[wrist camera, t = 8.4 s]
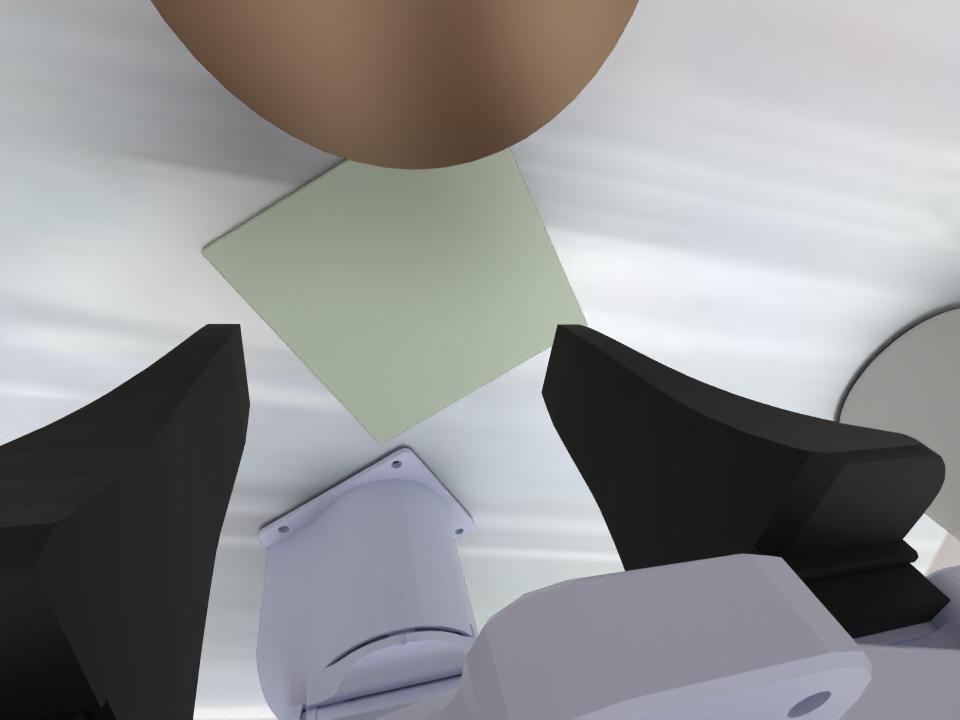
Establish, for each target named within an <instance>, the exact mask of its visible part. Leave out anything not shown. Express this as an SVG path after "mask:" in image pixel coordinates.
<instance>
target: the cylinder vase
mask: <svg viewBox="0 0 960 720" xmlns="http://www.w3.org/2000/svg"><path fill="white" fill-rule="evenodd" d="M839 423H844V424H849V425H855V426H861V427H867V428H873V429H878V430H884V431H890V432H896V433H902V434H905V435H908V436H910V437H912V438H915V439H917V440H918V441H920V442H921V443H923V444H924V445H926V446H927V447H928V448H930V449H931V450H933V451H934V452H936V453H937V454H939V455H940V456H941V457H942V459H943V461H944V463H945V468H946V471H945V481H944V483H943V485H942V488H941V490H940V492H939V493H938V495H937V496H936V498H935V499H934V501H933V502H932V504H931V505H930V506H929V507H928V509H927V510H926V511H925V512H924V513H925V514H926V515H928V516H929V517H930V518H931V519H933V520H934V521H935V522H936V523H938V524H939V525H940V526H941V527H943V528H944V529H945V530H946V531H948V532H949V533H950V534H951V535H953V536H954V537H955V538H957V539H958V540H959V541H960V308H958V309H954V310H950V311H947V312H944V313H942V314H939V315H936V316H934V317H932V318H930V319H928V320H926V321H924V322H922V323H920V324H918V325H917V326H915V327H913V328H912V329H910V330H909V331H907V332H906V333H904V334H903V335H902V336H900V337H899V338H898V339H896V340H895V341H894V342H892V343H891V344H890V345H889V346H888V347H887V348H885V349H884V350H883V351H882V352H881V353H880V354H879V355H878V356H877V357H876V358H875V359H874V360H873V361H872V362H871V363H870V365H869V366H868V367H867V368H866V369H865V370H864V372H863V373H862V374H861V376H860V377H859V378H858V380H857V381H856V383H855V384H854V386H853V387H852V389H851V391H850V393H849V394H848V396H847V398H846V401H845V403H844V406H843V408H842V412H841V416H840V421H839Z"/></svg>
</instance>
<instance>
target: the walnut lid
mask: <svg viewBox="0 0 960 720" xmlns="http://www.w3.org/2000/svg"><path fill="white" fill-rule="evenodd" d="M151 1H152V3H153V4H154V6H155V7H156V9H157V10H158V12H159V13H160V15H161V16H162V18H163V19H164V21H165V22H166V23H167V24H168V25H169V27H170V28H171V29H172V30H173V31H174V33H175V34H176V35H177V36H178V38H179V39H180V40H181V41H182V42H183V44H184V45H185V46H186V47H187V48H188V50H189V51H190V52H191V53H192V55H193V56H194V57H195V58H196V59H197V60H198V61H199V62H200V63H201V64H202V65H203V66H204V67H205V68H206V69H207V70H208V71H209V72H210V73H211V74H212V75H213V76H214V77H215V78H216V79H217V80H218V81H219V82H220V83H221V84H222V85H223V86H224V87H225V88H226V89H227V90H228V91H230V92H231V93H232V94H233V95H235V96H236V97H237V98H238V99H240V100H241V101H242V102H243V103H245V104H246V105H247V106H248V107H250V108H251V109H252V110H253V111H255V112H256V113H257V114H258V115H260V116H261V117H263V118H264V119H266V120H267V121H269V122H271V123H272V124H274V125H275V126H277V127H278V128H280V129H282V130H283V131H285V132H286V133H288V134H290V135H291V136H293V137H295V138H297V139H299V140H301V141H303V142H306V143H308V144H310V145H312V146H314V147H316V148H318V149H320V150H322V151H325V152H328V153H330V154H333V155H336V156H339V157H342V158H345V159H348V160H351V161H354V162H359V163H364V164H369V165H374V166H379V167H384V168H395V169H411V170H420V169H434V168H446V167H450V166H455V165H460V164H464V163H469V162H473V161H476V160H479V159H482V158H484V157H487V156H490V155H492V154H495V153H498V152H501V151H502V150H504V149H506V148H508V147H510V146H512V145H514V144H516V143H518V142H520V141H521V140H523V139H525V138H527V137H528V136H530V135H531V134H532V133H534V132H535V131H537V130H538V129H540V128H541V127H542V126H544V125H545V124H547V123H548V122H550V121H551V120H552V119H553V118H554V117H555V116H556V115H557V114H559V113H560V112H561V111H562V110H563V109H564V108H565V107H566V106H567V105H568V104H570V103H571V102H572V101H573V100H574V99H575V98H576V96H577V95H578V94H579V93H580V92H581V91H582V90H583V88H584V87H585V86H586V85H587V84H588V83H589V82H590V80H591V79H592V78H593V77H594V76H595V75H596V73H597V72H598V70H599V69H600V67H601V66H602V64H603V63H604V62H605V60H606V59H607V57H608V56H609V54H610V53H611V52H612V50H613V49H614V47H615V46H616V44H617V42H618V40H619V38H620V36H621V35H622V33H623V31H624V29H625V27H626V26H627V24H628V22H629V20H630V18H631V16H632V15H633V12H634V10H635V8H636V5H637V3H638V1H639V0H151Z"/></svg>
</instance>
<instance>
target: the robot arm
mask: <svg viewBox="0 0 960 720" xmlns="http://www.w3.org/2000/svg"><path fill="white" fill-rule="evenodd" d="M542 395H543V398H544V401H545V404H546V407H547V410H548V412H549V415H550V417H551V420H552V422H553V425H554V427H555V429H556V431H557V432H558V434H559V436H560V438H561V440H562V441H563V443H564V445H565V447H566V449H567V450H568V452H569V454H570V456H571V458H572V459H573V461H574V463H575V465H576V466H577V468H578V470H579V472H580V473H581V475H582V477H583V479H584V480H585V482H586V484H587V486H588V487H589V489H590V491H591V493H592V494H593V496H594V498H595V500H596V502H597V504H598V506H599V508H600V510H601V513H602V515H603V517H604V520H605V522H606V524H607V527H608V529H609V531H610V534H611V536H612V538H613V541H614V543H615V546H616V548H617V551H618V553H619V556H620V559H621V561H622V564H623V566H624V569H625V571H624V572H618V573H611V574H605V575H598V576H591V577H585V578H578V579H572V580H567V581H563V582H560V583H557V584H554V585H551V586H548V587H545V588H541V589H538V590H535V591H532V592H529V593H526V594H524V595H522V596H521V597H519V598H518V599H517V600H515V601H514V602H512V603H511V604H509V605H508V606H506V607H505V608H504V609H502V610H501V611H499V612H498V613H496V614H495V615H493V616H492V617H491V618H489V620H488V621H487V623H486V624H485V626H484V628H483V629H482V631H481V632H480V634H479V635H478V631H477V627H476V623H475V619H474V615H473V611H472V607H471V603H470V599H469V596H468V592H467V588H466V584H465V580H464V576H463V572H462V568H461V564H460V560H459V556H458V552H457V548H456V544H455V539H457V538H459V537H460V536H462V535H464V534H466V533H468V532H469V531H471V530H472V529H473V528H474V522H473V519H472V518H471V517H470V516H469V515H468V513H467V512H466V511H465V510H464V509H463V508H462V507H461V505H460V504H459V503H458V502H457V501H456V500H455V499H454V498H453V496H452V495H451V494H450V493H449V492H448V491H447V490H446V488H445V487H444V486H443V485H442V484H441V483H440V482H439V481H438V479H437V478H436V477H435V476H434V475H433V474H432V473H431V472H430V470H429V469H428V468H427V467H426V466H425V465H424V464H423V462H422V461H421V460H420V459H419V458H418V457H417V456H416V455H415V453H414V452H413V451H412V450H410V449H408V448H402V449H400V450H398V451H396V452H394V453H393V454H391V455H389V456H387V457H386V458H384V459H382V460H380V461H379V462H377V463H375V464H374V465H372V466H370V467H368V468H367V469H365V470H363V471H361V472H360V473H358V474H356V475H354V476H353V477H351V478H349V479H348V480H346V481H344V482H342V483H341V484H339V485H337V486H335V487H334V488H332V489H330V490H328V491H327V492H325V493H323V494H322V495H320V496H318V497H316V498H315V499H313V500H311V501H309V502H308V503H306V504H304V505H302V506H301V507H299V508H297V509H296V510H294V511H292V512H290V513H289V514H287V515H285V516H283V517H282V518H280V519H278V520H276V521H275V522H273V523H271V524H270V525H268V526H266V527H264V528H263V529H261V530H260V531H259V533H258V541H259V542H260V543H262V544H263V545H265V546H266V547H267V548H268V554H267V562H266V571H265V579H264V588H263V596H262V605H261V613H260V622H259V630H258V639H257V652H256V657H257V669H258V675H259V680H260V684H261V687H262V691H263V694H264V697H265V699H266V701H267V703H268V705H269V707H270V709H271V710H272V712H273V713H274V714H275V716H276V717H277V718H278V719H279V720H960V566H954V567H949V568H943V569H941V570H938V571H935V572H934V573H932V574H930V575H929V576H927V577H925V576H924V575H922V574H921V573H920V572H919V571H918V570H917V569H916V568H915V567H914V566H912V565H911V564H910V563H912V562H915V561H916V560H917V558H918V554H917V552H916V551H915V550H914V549H913V548H912V547H911V546H910V545H908V544H907V543H906V542H905V541H904V540H903V538H904V537H905V536H906V534H907V533H908V532H909V531H910V530H911V528H912V527H913V526H914V525H915V523H916V522H917V521H918V520H919V518H920V517H921V516H922V515H923V514H924V512H925V511H926V510H927V509H928V507H929V506H930V505H931V504H932V502H933V501H934V499H935V498H936V496H937V495H938V493H939V492H940V490H941V488H942V485H943V483H944V481H945V471H946V468H945V463H944V461H943V459H942V457H941V456H940V455H939V454H937V453H936V452H934V451H933V450H931V449H930V448H928V447H927V446H926V445H924V444H923V443H921V442H920V441H918V440H917V439H915V438H912V437H910V436H908V435H905V434H902V433H896V432H890V431H884V430H878V429H873V428H867V427H861V426H855V425H849V424H844V423H839V422H834V421H830V420H825V419H821V418H816V417H812V416H808V415H803V414H799V413H795V412H792V411H788V410H784V409H780V408H777V407H773V406H770V405H767V404H763V403H760V402H757V401H754V400H750V399H747V398H744V397H741V396H738V395H735V394H732V393H730V392H727V391H724V390H722V389H719V388H716V387H714V386H711V385H708V384H706V383H703V382H701V381H699V380H696V379H694V378H691V377H689V376H687V375H685V374H683V373H680V372H678V371H676V370H674V369H672V368H669V367H667V366H665V365H663V364H661V363H659V362H657V361H655V360H653V359H651V358H649V357H647V356H645V355H643V354H641V353H639V352H637V351H635V350H633V349H631V348H629V347H628V346H626V345H624V344H622V343H620V342H618V341H616V340H614V339H612V338H610V337H608V336H606V335H604V334H602V333H600V332H598V331H595V330H593V329H591V328H588V327H586V326H583V325H580V324H557V328H556V332H555V337H554V341H553V345H552V350H551V354H550V358H549V363H548V367H547V371H546V376H545V380H544V384H543V389H542ZM249 408H250V401H249V393H248V385H247V376H246V368H245V360H244V352H243V344H242V336H241V328H240V324H207V325H206V326H204V327H202V328H201V329H200V330H198V331H197V332H195V333H194V334H193V335H191V336H190V337H189V338H187V339H186V340H185V341H183V342H182V343H181V344H179V345H178V346H177V347H175V348H174V349H173V350H171V351H170V352H169V353H167V354H166V355H164V356H163V357H162V358H160V359H159V360H158V361H156V362H155V363H153V364H152V365H151V366H149V367H148V368H146V369H145V370H143V371H142V372H140V373H139V374H137V375H135V376H134V377H132V378H131V379H129V380H128V381H126V382H125V383H123V384H122V385H120V386H118V387H117V388H115V389H114V390H112V391H111V392H109V393H107V394H106V395H104V396H102V397H101V398H99V399H97V400H95V401H94V402H92V403H90V404H88V405H86V406H85V407H83V408H81V409H79V410H77V411H75V412H73V413H71V414H69V415H67V416H65V417H63V418H61V419H59V420H57V421H55V422H53V423H51V424H49V425H47V426H45V427H43V428H40V429H38V430H36V431H33V432H31V433H29V434H27V435H24V436H22V437H20V438H17V439H15V440H13V441H11V442H8V443H6V444H4V445H1V446H0V720H193V714H194V706H195V698H196V690H197V682H198V674H199V666H200V658H201V650H202V643H203V636H204V629H205V622H206V615H207V608H208V601H209V594H210V588H211V581H212V575H213V569H214V562H215V556H216V550H217V546H218V542H219V537H220V533H221V529H222V525H223V522H224V518H225V515H226V511H227V507H228V504H229V500H230V497H231V493H232V490H233V486H234V482H235V479H236V475H237V472H238V468H239V464H240V461H241V457H242V453H243V449H244V446H245V441H246V433H247V426H248V417H249ZM395 461H400V462H398V463H393V462H395ZM282 526H287V527H282ZM459 528H460V529H459Z"/></svg>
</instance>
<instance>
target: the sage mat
mask: <svg viewBox="0 0 960 720" xmlns="http://www.w3.org/2000/svg"><path fill="white" fill-rule="evenodd" d="M201 254H202V255H203V256H204V257H205V258H206V259H207V260H208V261H209V262H210V263H211V264H212V265H213V267H214V268H215V269H216V270H217V271H218V272H219V273H220V274H221V275H222V276H223V277H224V278H225V279H226V280H227V281H228V283H229V284H230V285H231V286H232V287H233V288H234V289H235V290H236V291H237V292H238V293H239V294H240V295H241V296H242V298H243V299H244V300H245V301H246V302H247V303H248V304H249V305H250V306H251V307H252V308H253V309H254V310H255V311H256V313H257V314H258V315H259V316H260V317H261V318H262V319H263V320H264V321H265V322H266V323H267V324H268V325H269V326H270V328H271V329H272V330H273V331H274V332H275V333H276V334H277V335H278V336H279V337H280V338H281V339H282V340H283V341H284V342H285V344H286V345H287V346H288V347H289V348H290V349H291V350H292V351H293V352H294V353H295V354H296V355H297V356H298V357H299V359H300V360H301V361H302V362H303V363H304V364H305V365H306V366H307V367H308V368H309V369H310V370H311V371H312V372H313V374H314V375H315V376H316V377H317V378H318V379H319V380H320V381H321V382H322V383H323V384H324V385H325V386H326V387H327V389H328V390H329V391H330V392H331V393H332V394H333V395H334V396H335V397H336V398H337V399H338V400H339V401H340V402H341V403H342V405H343V406H344V407H345V408H346V409H347V410H348V411H349V412H350V413H351V414H352V415H353V416H354V417H355V418H356V420H357V421H358V422H359V423H360V424H361V425H362V426H363V427H364V428H365V429H366V430H367V431H368V432H369V433H370V435H371V436H372V437H373V438H374V439H375V440H376V441H377V442H378V443H379V444H380V445H381V444H383V443H385V442H386V441H388V440H390V439H392V438H393V437H395V436H397V435H399V434H400V433H402V432H404V431H405V430H407V429H409V428H411V427H412V426H414V425H416V424H418V423H419V422H421V421H423V420H424V419H426V418H428V417H430V416H431V415H433V414H435V413H437V412H438V411H440V410H442V409H443V408H445V407H447V406H449V405H450V404H452V403H454V402H456V401H457V400H459V399H461V398H462V397H464V396H466V395H468V394H469V393H471V392H473V391H475V390H476V389H478V388H480V387H481V386H483V385H485V384H487V383H488V382H490V381H492V380H494V379H495V378H497V377H499V376H500V375H502V374H504V373H506V372H507V371H509V370H511V369H513V368H514V367H516V366H518V365H519V364H521V363H523V362H525V361H526V360H528V359H530V358H532V357H533V356H535V355H537V354H538V353H540V352H542V351H544V350H545V349H547V348H549V347H551V346H552V345H553V341H554V337H555V332H556V328H557V324H580V325H583V326H587V322H586V320H585V318H584V315H583V313H582V311H581V309H580V306H579V304H578V302H577V300H576V297H575V295H574V293H573V290H572V288H571V286H570V284H569V281H568V279H567V277H566V275H565V272H564V270H563V268H562V265H561V263H560V261H559V259H558V256H557V254H556V252H555V249H554V247H553V245H552V243H551V240H550V238H549V236H548V234H547V231H546V229H545V227H544V224H543V222H542V220H541V218H540V215H539V213H538V211H537V209H536V206H535V204H534V202H533V199H532V197H531V195H530V193H529V190H528V188H527V186H526V183H525V181H524V179H523V177H522V174H521V172H520V170H519V168H518V165H517V163H516V161H515V158H514V156H513V154H512V152H511V149H510V147H508V148H506V149H504V150H502V151H501V152H498V153H495V154H492V155H490V156H487V157H484V158H482V159H479V160H476V161H473V162H469V163H464V164H460V165H455V166H450V167H446V168H434V169H420V170H411V169H395V168H384V167H379V166H374V165H369V164H364V163H359V162H354V161H351V160H348V159H347V160H345V161H344V162H342V163H341V164H339V165H337V166H336V167H334V168H332V169H331V170H329V171H328V172H326V173H324V174H323V175H321V176H320V177H318V178H316V179H315V180H313V181H312V182H310V183H308V184H307V185H305V186H304V187H302V188H300V189H299V190H297V191H295V192H294V193H292V194H291V195H289V196H287V197H286V198H284V199H283V200H281V201H279V202H278V203H276V204H275V205H273V206H271V207H270V208H268V209H267V210H265V211H263V212H262V213H260V214H259V215H257V216H255V217H254V218H252V219H250V220H249V221H247V222H246V223H244V224H242V225H241V226H239V227H238V228H236V229H234V230H233V231H231V232H230V233H228V234H226V235H225V236H223V237H222V238H220V239H218V240H217V241H215V242H214V243H212V244H210V245H209V246H207V247H205V248H204V249H203V250H202V251H201Z"/></svg>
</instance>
